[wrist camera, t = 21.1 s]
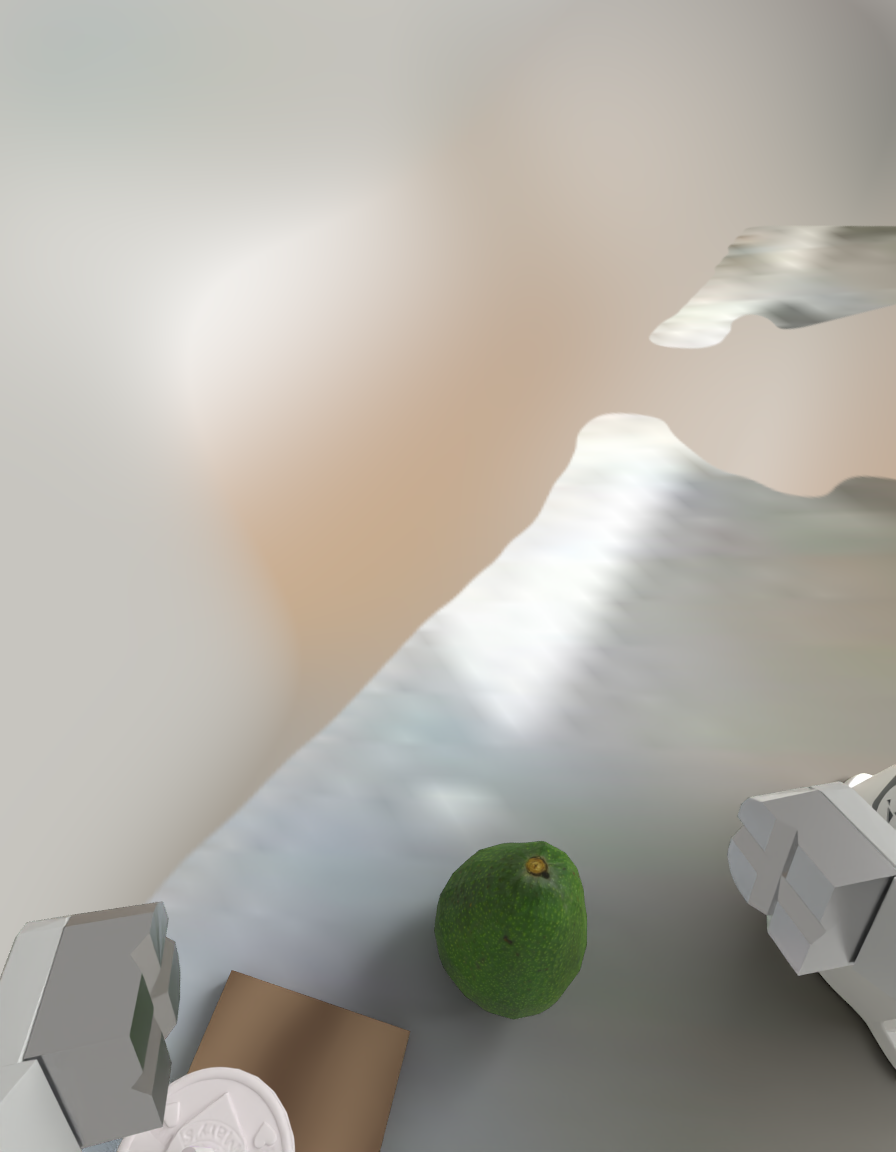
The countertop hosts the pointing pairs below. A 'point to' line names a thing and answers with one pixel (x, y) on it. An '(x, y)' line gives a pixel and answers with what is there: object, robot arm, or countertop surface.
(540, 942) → the avocado
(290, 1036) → the coaster board
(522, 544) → the countertop surface
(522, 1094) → the countertop surface
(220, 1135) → the smoothie
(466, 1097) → the countertop surface
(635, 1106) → the countertop surface
